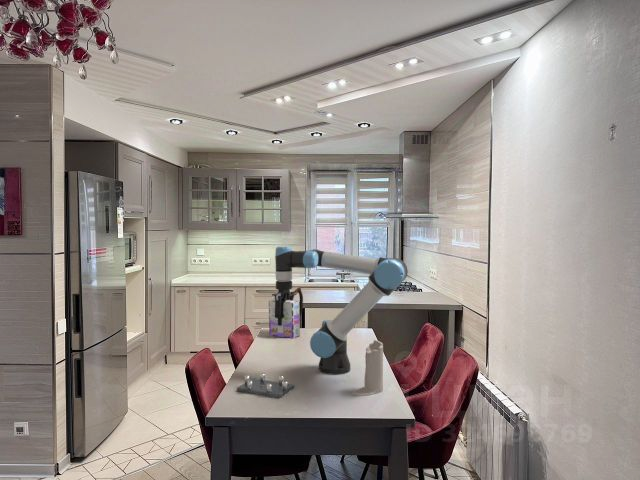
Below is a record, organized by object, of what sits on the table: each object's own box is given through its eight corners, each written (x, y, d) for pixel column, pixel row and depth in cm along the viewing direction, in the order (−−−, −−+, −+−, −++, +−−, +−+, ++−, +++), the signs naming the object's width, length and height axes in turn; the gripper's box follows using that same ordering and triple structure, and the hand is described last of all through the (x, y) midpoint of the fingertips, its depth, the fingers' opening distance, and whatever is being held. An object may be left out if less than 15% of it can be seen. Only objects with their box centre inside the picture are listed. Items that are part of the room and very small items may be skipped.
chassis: (293, 388, 176) (293, 377, 176) (280, 398, 165) (280, 387, 165) (252, 381, 184) (252, 371, 184) (237, 391, 173) (236, 380, 173)
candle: (348, 391, 173) (348, 342, 172) (375, 385, 179) (375, 338, 179) (358, 397, 166) (358, 347, 166) (386, 391, 173) (386, 342, 173)
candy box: (300, 336, 192) (300, 300, 192) (293, 339, 187) (292, 302, 187) (276, 333, 200) (276, 298, 199) (268, 335, 195) (268, 300, 194)
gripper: (286, 277, 203) (286, 325, 204) (266, 282, 186) (266, 334, 186) (300, 278, 200) (301, 326, 201) (281, 283, 183) (281, 336, 183)
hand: (284, 330), depth 193 cm, fingers closed on candy box, 6 cm apart
